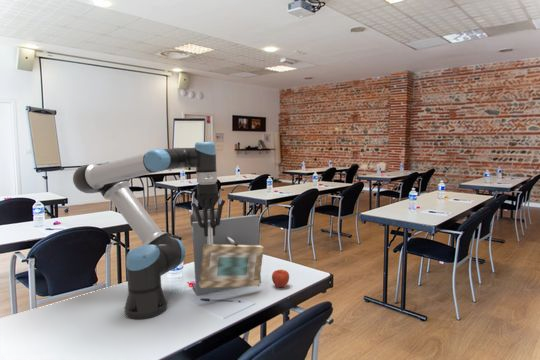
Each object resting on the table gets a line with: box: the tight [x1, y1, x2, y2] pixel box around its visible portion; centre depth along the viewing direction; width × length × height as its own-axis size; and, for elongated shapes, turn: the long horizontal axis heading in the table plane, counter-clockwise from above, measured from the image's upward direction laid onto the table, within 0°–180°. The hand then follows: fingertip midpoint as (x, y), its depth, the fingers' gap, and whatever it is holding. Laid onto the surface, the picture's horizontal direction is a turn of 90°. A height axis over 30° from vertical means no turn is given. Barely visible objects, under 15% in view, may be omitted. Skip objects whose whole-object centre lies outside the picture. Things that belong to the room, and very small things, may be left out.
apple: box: [271, 269, 290, 288], centre depth 155 cm, size 7×7×8 cm
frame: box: [199, 243, 265, 288], centre depth 144 cm, size 24×4×18 cm, turn 114°
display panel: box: [191, 214, 262, 296], centre depth 153 cm, size 28×15×30 cm, turn 114°
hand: (210, 244), depth 140 cm, fingers closed
